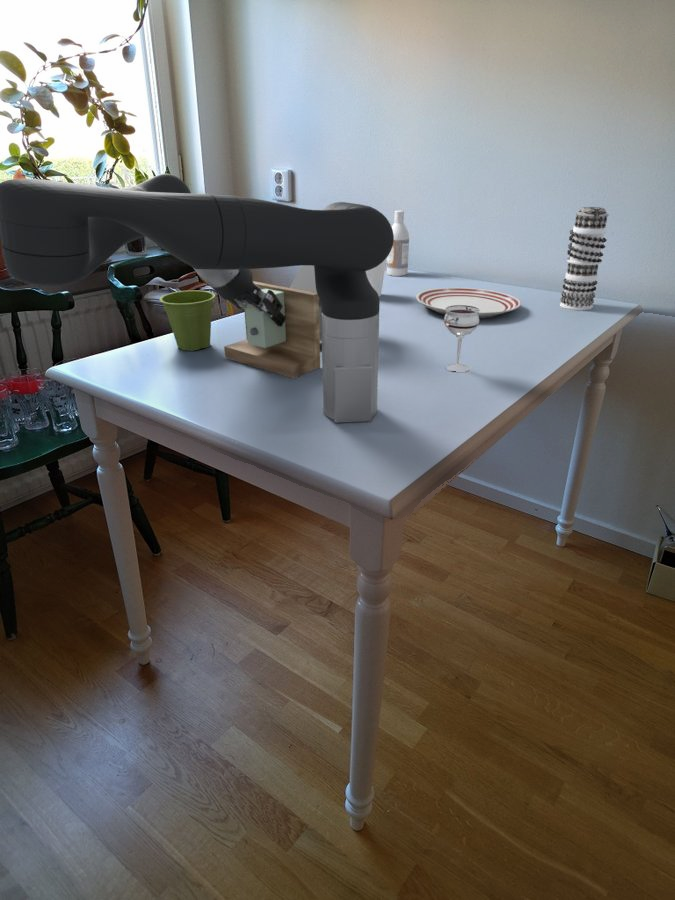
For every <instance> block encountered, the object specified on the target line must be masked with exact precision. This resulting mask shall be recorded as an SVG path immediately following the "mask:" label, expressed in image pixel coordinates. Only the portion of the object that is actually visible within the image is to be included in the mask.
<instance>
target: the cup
mask: <svg viewBox="0 0 675 900" xmlns="http://www.w3.org/2000/svg"><path fill="white" fill-rule="evenodd" d="M386 267H387V258H386V259H385V260H384V261H383V262H382V263H381V264H380V265H378V266H377V267H375V268H373V269H371V270H367V271H366V275H367V278H368V280H369V282H370V284H371V286H372V287H373V288H374V290H375V291H376V292H377V293H378V295H379V298H380V297H381V296H382V290H383V285H384V278H385V272H386V271H385V270H386Z"/></svg>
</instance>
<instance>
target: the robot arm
mask: <svg viewBox="0 0 675 900" xmlns="http://www.w3.org/2000/svg"><path fill="white" fill-rule="evenodd" d="M144 237H145V238H147V239H148V240H150V241H152V242H153V243H154V244H156V245H158V247H160V248H161V249H162V250H163V251H165V252H167V253H168V254H170V255H171V256H173V257H174V258H176V259H178V260H179V261H181V262H183V263H184V264H186V265H188V266H190V267H192V269H194V271H195V273H196V274H197V275H198V276H199V277H200V279H202V280H203V281H204V282H205V283H206V284H207V285H208V286H209V287H210V288H211V289H213V291H214V292H216V294H217V295H219V296H220V297H221V298H222V299H223V300H226V301H228V302H230V303H231V304H233V306H235V307H236V309H239V310H242V309H243V311H244V310H245V309H246V308H247V305H250V306H251V307H253V308H254V309H255V310H257V311H258V312H264V313H265V314H266V315H267V316H269V317H270V318H271V319H272V320H273V321H274V322H275V323H276V324H277V325H278V326H280V327H281V326H282V325H283V323H284V322H285V319H286V318H285V316H284V315H283V314H282V313H281V312H280V310H281V309H282V307H283V306H282V304H281V303H280V301H279V300H278V298H277V297H276V295H275V294H274V292H273V291H271V290H268V291H267V293H264V292H263V291H262V290H261V289H260V287H259V286H257V285H256V284H255V283H253V281H254V276H253V275H254V274H253V271H252V270H255V269H258V270H259V269H273V268H286V267H297V266H299V267H301V266H302V265H312V266H314V271H315V284H316V291H317V294H318V297H319V299H320V302H321V319H322V350H321V355H322V356H321V363H322V366H321V367H322V370H321V371H322V398H323V399H322V403H323V404H322V405H323V414H324V416H326V417H327V418H329V419H331V420H333V421H334V423H337V424H338V423H355V422H357V423H358V422H359V423H360V422H372V421H373V417H375V416H376V415H377V412H378V391H379V390H378V387H379V385H378V378H379V341H380V337H379V336H380V335H379V334H380V297H379V295H378V293H377V292H376V291H375V290H374V288H373V287H372V286H371V284H370V282H369V280H368V278H367V275H366V271H367V270H371V269H373V268H375V267H377V266H378V265H380V264H381V263H382V262H383V261H384V260H385V259H386V260H387V257H388V255H389V254H390V252H391V249H392V247H393V242H394V235H393V230H392V225H391V223H390V221H389V219H388V218H387V217H386V216H385V215H384V214H383V213H382V212H380V211H379V210H378V209H376V208H374V207H372V206H370V205H364V204H359V203H352V202H345V201H338V202H333V203H330V204H328V205H326V206H325V207H324V208H323V209H306V208H302V207H296V206H293V205H292V206H291V205H287V204H283V203H279V202H273V201H269V200H264V199H260V198H252V197H246V196H238V195H228V194H227V195H225V194H214V193H213V194H212V193H191V191H190V189H189V187H188V185H187V184H186V183H185V181H183V180H182V179H181V178H180V177H178V176H176V175H175V174H172V173H160V174H157V175H155V176H152V177H150V178H149V179H145V180H144V181H142V182H140V183H138V184H136V185H132V186H125V187H121V188H114V187H106V186H98V185H91V184H82V183H75V182H67V181H59V180H58V181H57V180H51V179H41V178H40V179H39V178H15V179H14V178H13V179H7V180H4V181H2V182H0V244H1V245H0V246H1V252H2V258H3V261H4V265H5V268H6V272H8V273H9V275H10V276H11V277H12V278H13V279H15V280H16V281H18V282H22V283H24V284H27V285H31V286H36V287H46V288H47V287H49V288H50V287H51V288H54V287H63V286H68V285H71V284H75V283H78V282H80V281H82V280H84V279H85V278H87V277H88V276H90V275H91V274H92V273H94V272H95V271H96V270H97V268H99V267H100V266H101V265H103V264H104V263H105V262H106V261H107V260H109V259H110V257H112V256H113V255H114V254H115V253H116V252H118V251H119V250H120V249H121V248H122V247H123V246H125V245H127V244H129V243H131V242H134V241H137V240H139V239H141V238H144ZM261 299H262V300H263V301H262V302H263V304H261V305H260V306H258V304H259V303H260V301H261ZM266 307H267V309H268V310H269V311H268V310H266Z"/></svg>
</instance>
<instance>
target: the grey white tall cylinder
mask: <svg viewBox="0 0 675 900" xmlns="http://www.w3.org/2000/svg"><path fill="white" fill-rule="evenodd" d="M609 216H610V214H608V212H607V210H606V209H605V208H604V207H601V206H599V207H598V206H585V207H581V208H580V209H579V211H578V212H576V213H575V220H574V225H573V229H572V230H569V234H570V235H569V237H568V240H569V241H570V243H569V244H568V245H567V246H568V250H567V251H566V252H567V253H566V254H567V255H569V256H568V257H567V259H566V262H567V270H566V272H565V278H563V283H564V284H563V285H562V289H563V290H562V291H561V292H560V294H561V297H560V302H559V306H560V307H561V308H562V309H563V308H564V309H567V310H572V311H573V310H574V311H588V310H592V309H593V304H594V303H595V300H594V298H596V294H595V292H594V291H596V290H597V284H598V281H597V279H598V269H599V265H600V264H601V263H602V262H603V260H602V259H601V257H603V256H604V253H603V252H602V250H604V249H605V248H606V245H605V244H604V243H606V242H607V239H606V238H605V237H604V235H605V234H606V231H607V221H608V217H609Z"/></svg>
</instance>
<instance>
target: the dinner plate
mask: <svg viewBox="0 0 675 900" xmlns="http://www.w3.org/2000/svg"><path fill="white" fill-rule="evenodd" d="M415 298H416V300H417V302H419V304H421V305H422V306H424V307H426V308H427V309H430V310H431V311H434V312H437V313H439V314H442V315H444V316H445V315H446V313H447V312H446V310H445V308H446V307H448V306H453V305H468V306H474V307H477V308H479V309H480V311H479V313H478V316H479V319H485V318H490V317H496V316H498V315H501V314H502V315H503V314H506V313H509V312H512V311H515V310H516V309H519V307H521V304H522V302H521V300H520V299H518V298H516V297H515V296H513V295H511V294H508V293H504V292H501V291H496V290H492V289H485V288H484V289H483V288H474V287H439V288H430V289H425V290H422V291H419V292H418V294H417V295H416V297H415Z"/></svg>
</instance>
